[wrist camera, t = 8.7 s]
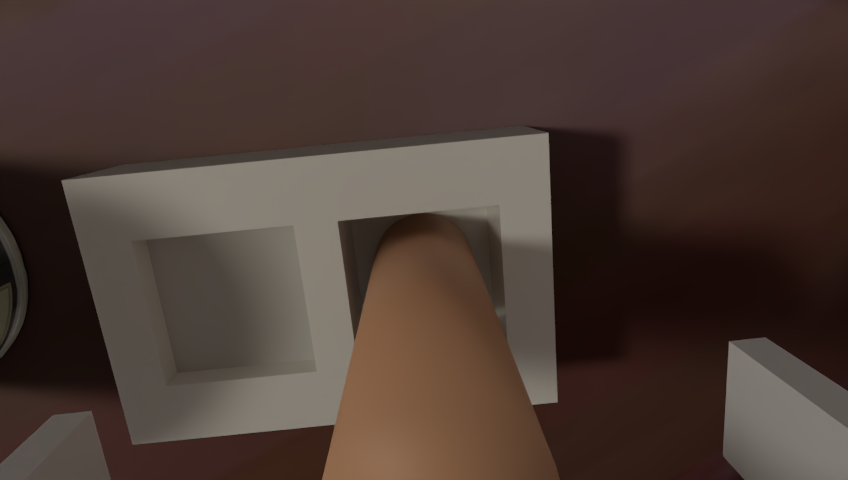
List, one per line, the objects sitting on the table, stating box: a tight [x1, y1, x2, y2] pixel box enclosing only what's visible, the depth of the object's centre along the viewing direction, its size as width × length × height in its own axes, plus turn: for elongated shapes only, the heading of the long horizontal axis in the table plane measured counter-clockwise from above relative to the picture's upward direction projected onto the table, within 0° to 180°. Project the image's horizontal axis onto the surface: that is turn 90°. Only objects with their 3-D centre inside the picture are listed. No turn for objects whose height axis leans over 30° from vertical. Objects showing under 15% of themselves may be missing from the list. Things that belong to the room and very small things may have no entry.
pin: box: [322, 213, 560, 480], centre depth 16 cm, size 4×4×14 cm
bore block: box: [61, 126, 557, 445], centre depth 21 cm, size 16×10×4 cm, turn 95°
